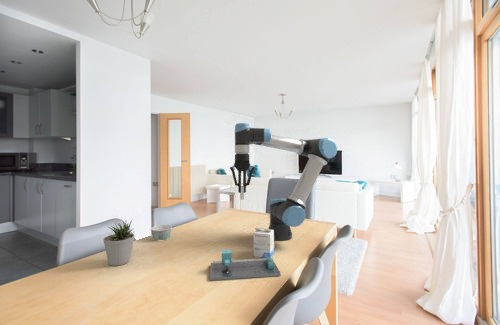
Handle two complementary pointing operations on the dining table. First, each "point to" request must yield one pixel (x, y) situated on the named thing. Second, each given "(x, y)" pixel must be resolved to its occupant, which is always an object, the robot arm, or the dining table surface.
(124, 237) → the potted plant
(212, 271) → the bolt plate
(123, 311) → the dining table surface
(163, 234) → the food container
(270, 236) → the ink box
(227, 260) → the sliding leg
